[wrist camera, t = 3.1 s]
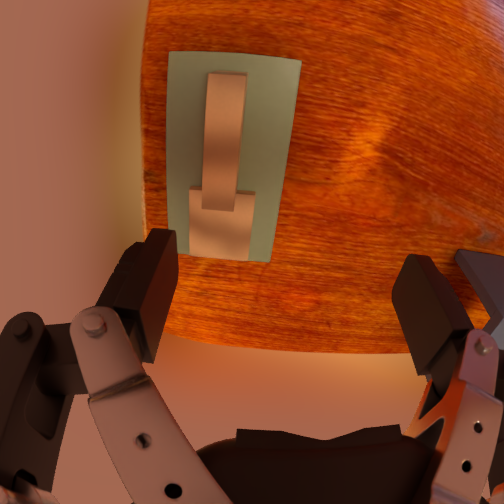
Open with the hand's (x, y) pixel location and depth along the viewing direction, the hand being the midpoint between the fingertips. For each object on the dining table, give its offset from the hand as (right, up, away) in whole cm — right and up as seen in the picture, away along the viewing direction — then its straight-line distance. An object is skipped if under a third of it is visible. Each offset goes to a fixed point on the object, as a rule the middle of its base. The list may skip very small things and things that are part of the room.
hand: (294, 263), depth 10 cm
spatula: (-4, +7, +15) cm, 17 cm away
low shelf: (-4, +9, +17) cm, 20 cm away
